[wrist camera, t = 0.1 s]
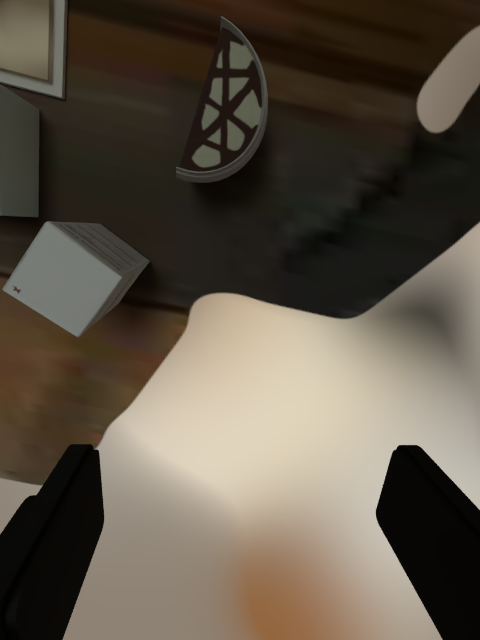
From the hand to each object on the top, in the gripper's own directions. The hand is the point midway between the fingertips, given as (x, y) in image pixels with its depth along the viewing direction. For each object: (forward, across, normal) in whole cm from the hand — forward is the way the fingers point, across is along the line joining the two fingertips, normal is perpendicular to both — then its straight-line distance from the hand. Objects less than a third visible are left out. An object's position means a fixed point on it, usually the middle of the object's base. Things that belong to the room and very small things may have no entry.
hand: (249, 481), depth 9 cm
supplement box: (+31, +14, -2) cm, 34 cm away
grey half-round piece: (+31, 0, -16) cm, 35 cm away
